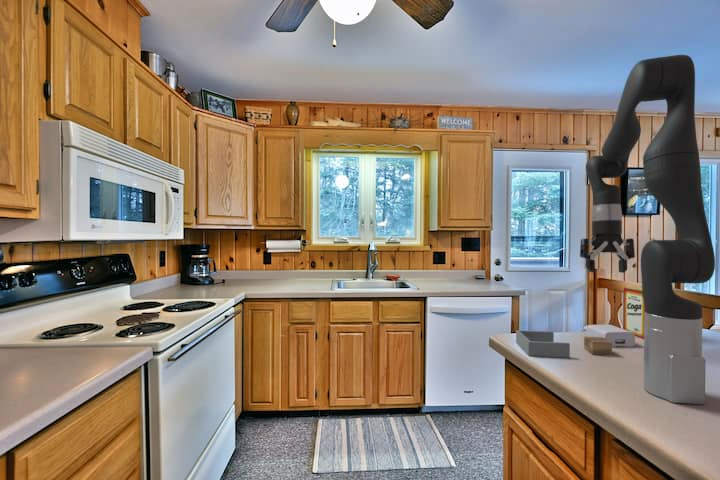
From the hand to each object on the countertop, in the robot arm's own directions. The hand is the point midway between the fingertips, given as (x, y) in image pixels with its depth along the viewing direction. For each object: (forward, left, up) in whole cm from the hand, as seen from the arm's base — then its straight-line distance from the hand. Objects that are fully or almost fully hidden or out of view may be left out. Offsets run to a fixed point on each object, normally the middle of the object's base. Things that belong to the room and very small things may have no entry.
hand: (606, 272), depth 105 cm
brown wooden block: (-7, +6, -23) cm, 25 cm away
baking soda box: (+13, -18, -23) cm, 32 cm away
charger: (+7, -2, -23) cm, 24 cm away
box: (-7, +21, -23) cm, 32 cm away
